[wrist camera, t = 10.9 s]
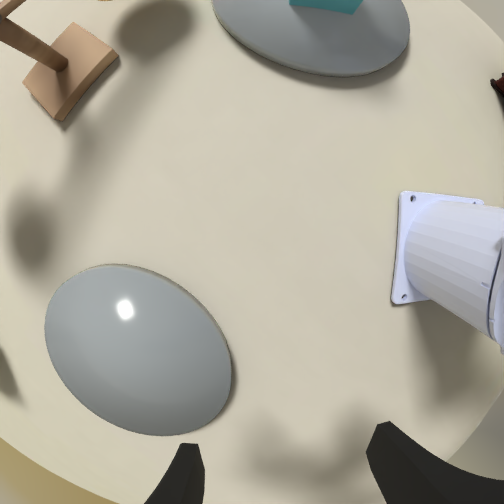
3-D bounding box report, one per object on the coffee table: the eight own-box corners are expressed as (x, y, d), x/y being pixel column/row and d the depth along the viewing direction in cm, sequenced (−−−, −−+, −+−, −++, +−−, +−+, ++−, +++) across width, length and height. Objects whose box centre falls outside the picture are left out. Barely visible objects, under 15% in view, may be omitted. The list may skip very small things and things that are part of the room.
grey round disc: (225, 261, 17) (225, 266, 16) (236, 429, 20) (236, 439, 19) (35, 264, 16) (26, 268, 15) (82, 413, 20) (78, 421, 18)
